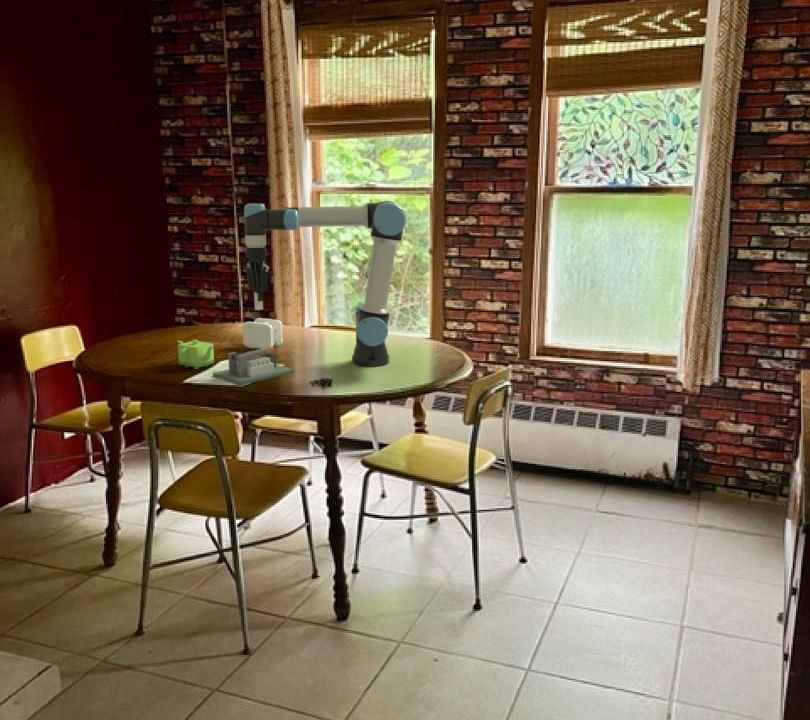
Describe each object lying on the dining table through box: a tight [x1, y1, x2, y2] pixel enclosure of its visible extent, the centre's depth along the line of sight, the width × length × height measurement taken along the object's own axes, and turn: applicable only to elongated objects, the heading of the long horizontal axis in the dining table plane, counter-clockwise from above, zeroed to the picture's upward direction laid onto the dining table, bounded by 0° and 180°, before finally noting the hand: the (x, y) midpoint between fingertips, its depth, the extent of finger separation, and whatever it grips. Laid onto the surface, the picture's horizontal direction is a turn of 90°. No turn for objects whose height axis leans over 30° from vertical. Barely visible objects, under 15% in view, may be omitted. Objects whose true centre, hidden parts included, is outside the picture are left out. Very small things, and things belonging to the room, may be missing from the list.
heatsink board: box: [212, 351, 294, 386], centre depth 298 cm, size 18×24×9 cm
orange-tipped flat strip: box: [232, 347, 276, 361], centre depth 297 cm, size 5×17×2 cm, turn 138°
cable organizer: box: [242, 317, 284, 349], centre depth 342 cm, size 15×11×12 cm
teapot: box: [177, 339, 215, 370], centre depth 309 cm, size 15×13×11 cm
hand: (258, 309), depth 296 cm, fingers closed
